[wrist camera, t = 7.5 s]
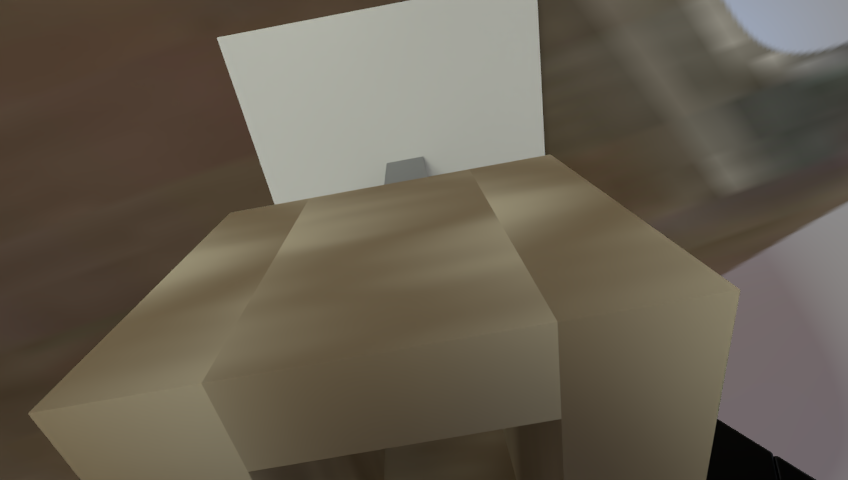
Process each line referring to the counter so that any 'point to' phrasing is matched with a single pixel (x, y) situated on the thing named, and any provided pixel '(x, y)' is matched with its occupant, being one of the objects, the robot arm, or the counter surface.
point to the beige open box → (413, 343)
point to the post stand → (390, 93)
